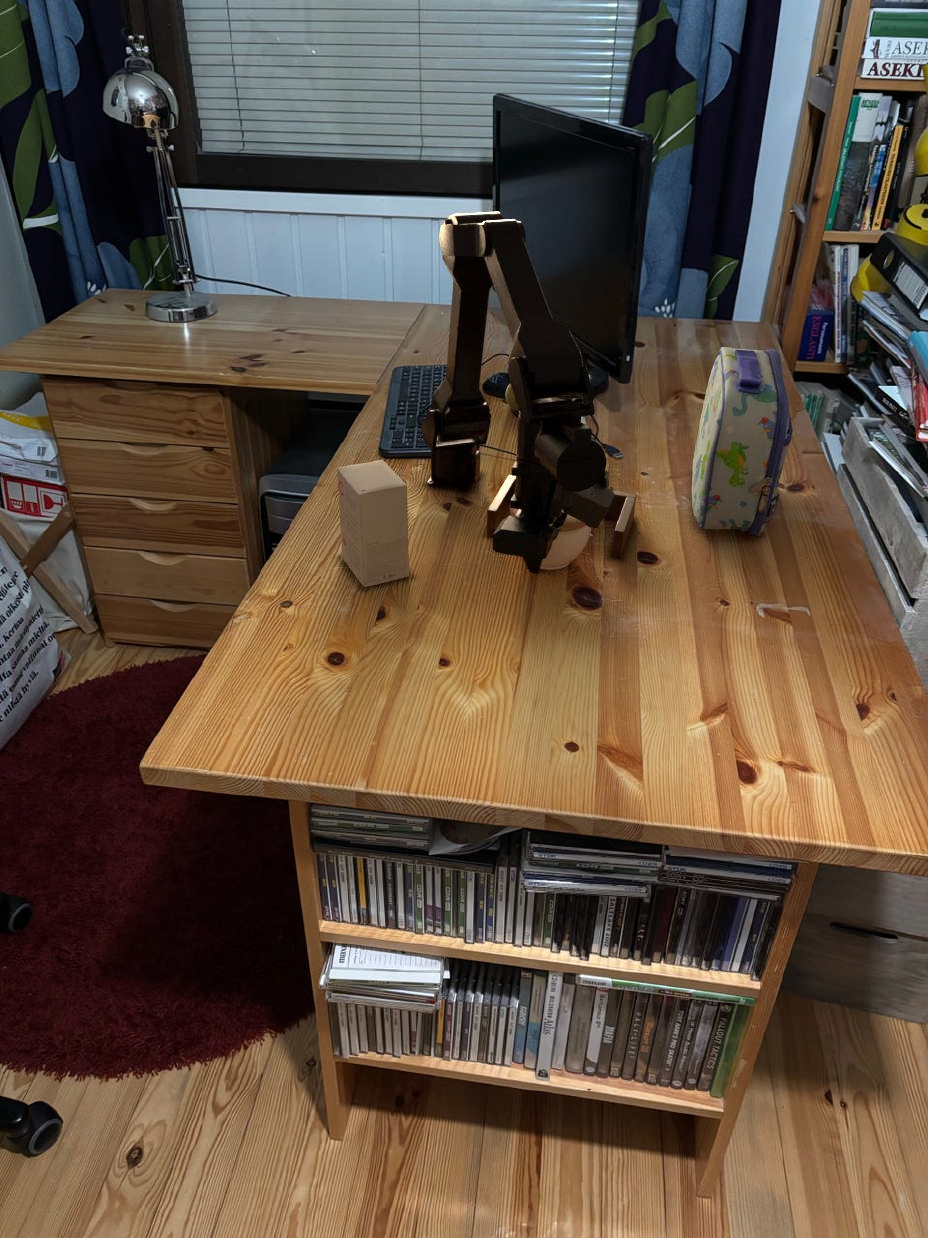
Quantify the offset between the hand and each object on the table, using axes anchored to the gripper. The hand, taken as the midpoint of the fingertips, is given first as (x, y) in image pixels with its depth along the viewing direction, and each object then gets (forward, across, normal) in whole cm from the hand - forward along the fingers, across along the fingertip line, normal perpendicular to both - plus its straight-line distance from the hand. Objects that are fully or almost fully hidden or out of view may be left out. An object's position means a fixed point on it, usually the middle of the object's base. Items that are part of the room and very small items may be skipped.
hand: (534, 572), depth 115 cm
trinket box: (+3, +8, 0) cm, 9 cm away
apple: (+2, +56, +15) cm, 58 cm away
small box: (+3, -1, +21) cm, 21 cm away
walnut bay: (+2, +17, 0) cm, 17 cm away
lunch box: (+2, +32, -21) cm, 39 cm away
